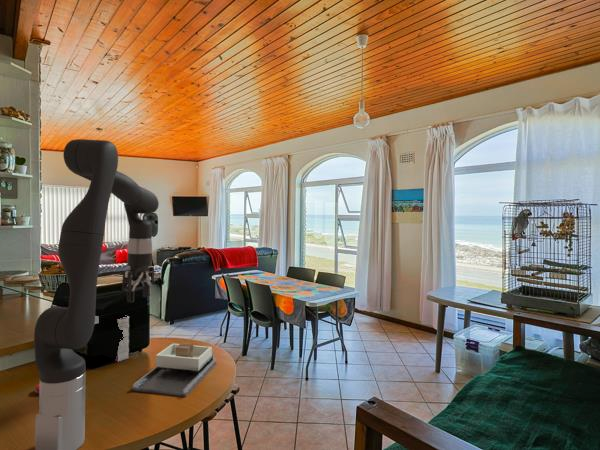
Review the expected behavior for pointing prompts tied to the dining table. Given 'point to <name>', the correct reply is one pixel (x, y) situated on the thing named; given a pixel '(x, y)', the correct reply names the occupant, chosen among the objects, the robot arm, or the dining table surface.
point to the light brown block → (184, 350)
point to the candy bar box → (123, 344)
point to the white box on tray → (184, 358)
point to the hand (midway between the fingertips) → (138, 299)
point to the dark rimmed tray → (172, 380)
